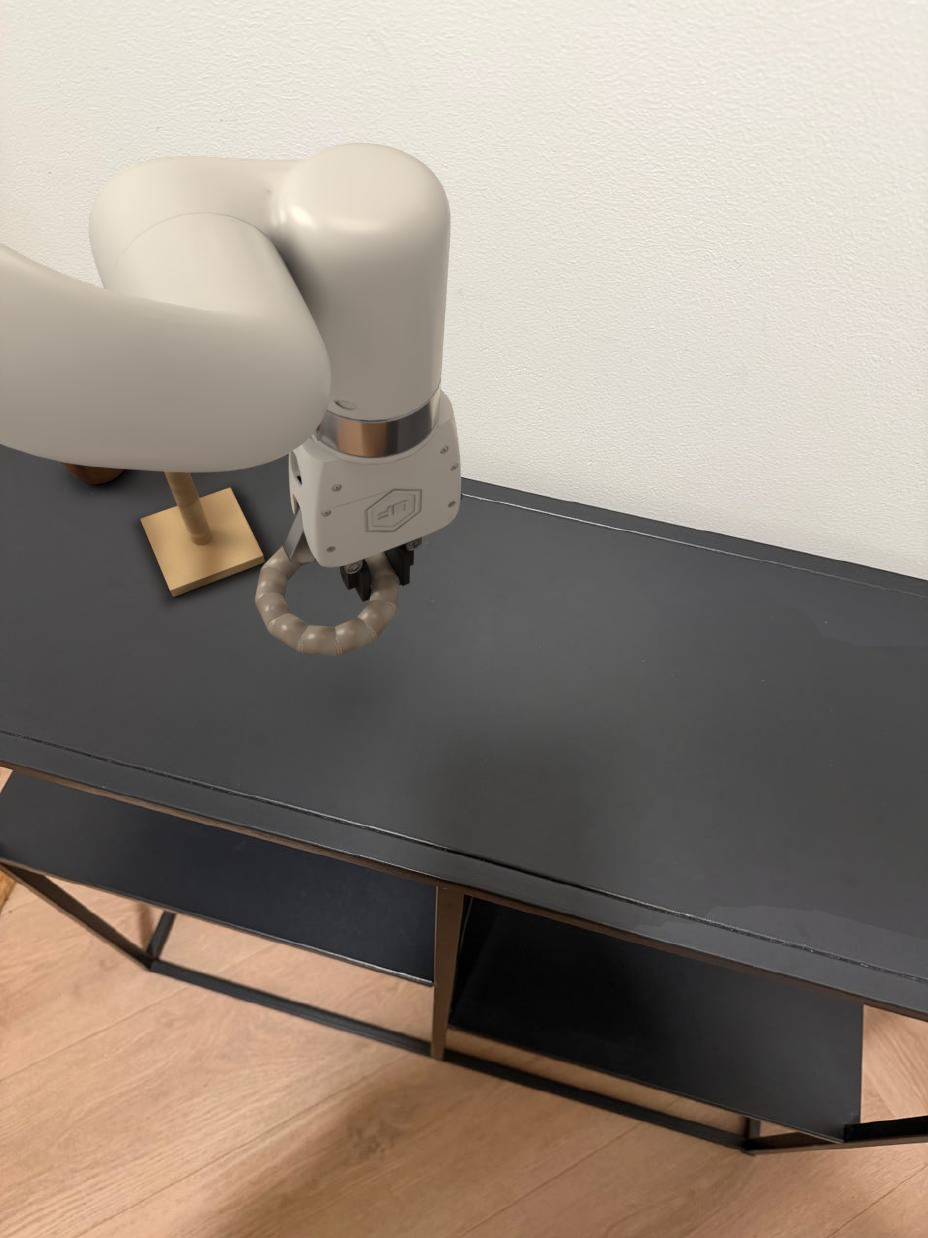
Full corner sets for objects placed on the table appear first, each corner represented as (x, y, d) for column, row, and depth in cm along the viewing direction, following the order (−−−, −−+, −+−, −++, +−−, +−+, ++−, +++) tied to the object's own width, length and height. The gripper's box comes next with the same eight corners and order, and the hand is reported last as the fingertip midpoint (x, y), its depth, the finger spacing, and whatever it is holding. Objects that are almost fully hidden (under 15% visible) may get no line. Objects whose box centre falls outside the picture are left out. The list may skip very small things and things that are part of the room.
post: (173, 597, 77) (132, 510, 66) (143, 525, 81) (99, 432, 70) (265, 562, 80) (241, 472, 68) (232, 494, 84) (204, 399, 72)
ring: (290, 681, 57) (287, 668, 55) (238, 570, 61) (234, 555, 59) (422, 626, 60) (422, 612, 58) (363, 524, 64) (363, 508, 62)
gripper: (255, 492, 42) (293, 661, 58) (532, 396, 46) (497, 577, 62) (204, 391, 45) (254, 578, 61) (469, 311, 49) (451, 504, 65)
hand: (377, 576), depth 61 cm, fingers closed on ring, 2 cm apart
